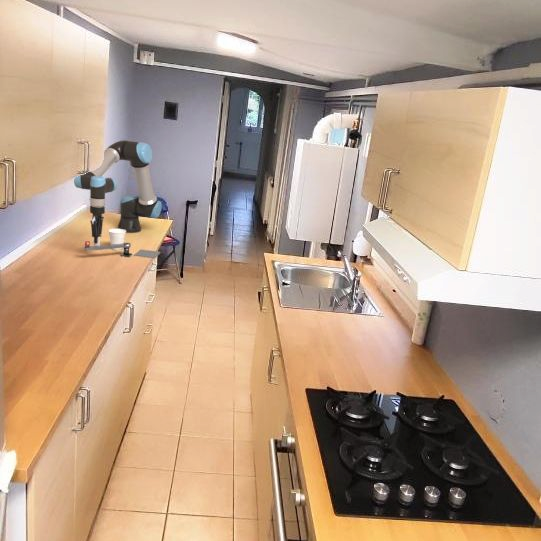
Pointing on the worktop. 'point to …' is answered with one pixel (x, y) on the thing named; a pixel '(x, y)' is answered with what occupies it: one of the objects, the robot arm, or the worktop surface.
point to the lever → (105, 246)
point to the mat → (147, 253)
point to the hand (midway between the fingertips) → (96, 248)
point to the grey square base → (126, 253)
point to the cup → (117, 237)
